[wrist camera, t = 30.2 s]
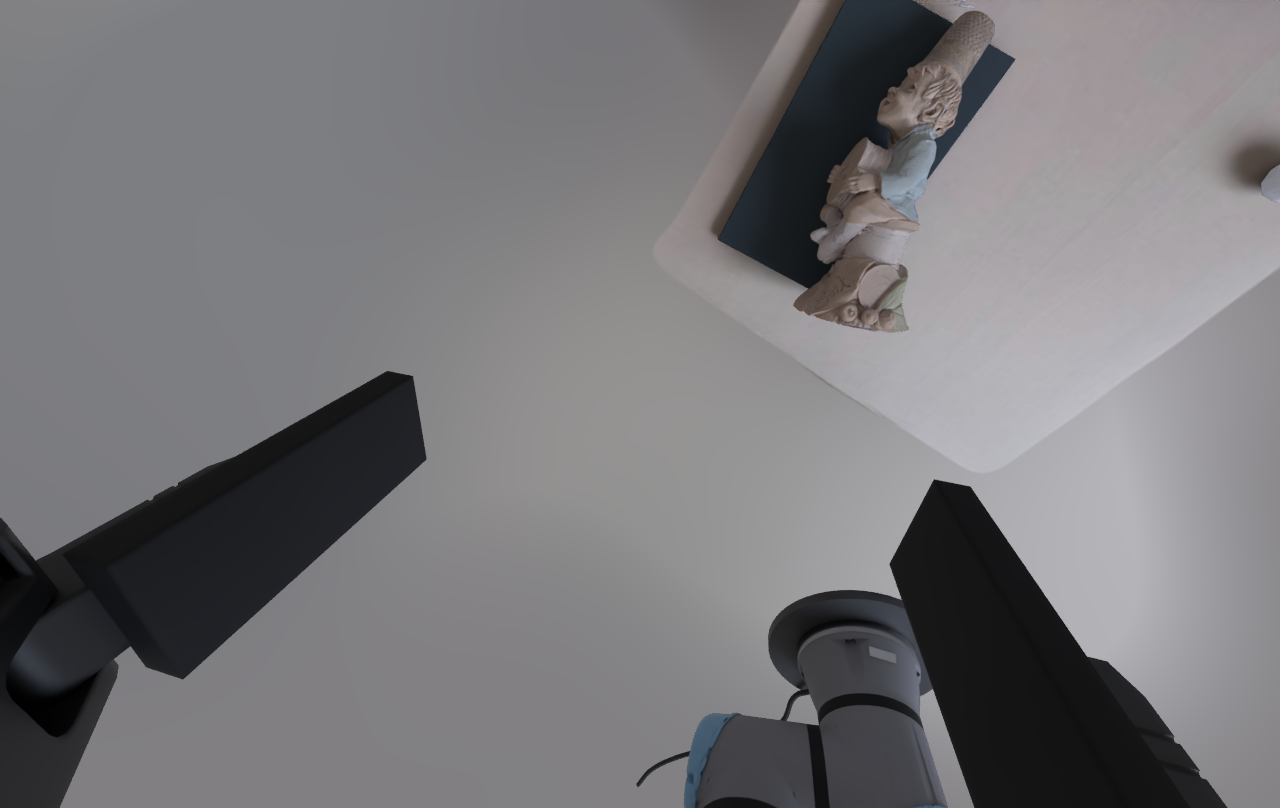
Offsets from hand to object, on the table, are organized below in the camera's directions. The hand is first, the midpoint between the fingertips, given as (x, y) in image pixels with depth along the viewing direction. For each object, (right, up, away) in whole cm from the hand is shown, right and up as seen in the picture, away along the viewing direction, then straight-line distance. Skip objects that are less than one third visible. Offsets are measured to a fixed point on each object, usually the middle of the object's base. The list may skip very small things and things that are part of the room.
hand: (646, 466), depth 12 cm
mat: (+16, +21, +24) cm, 36 cm away
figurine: (+16, +8, +25) cm, 31 cm away
